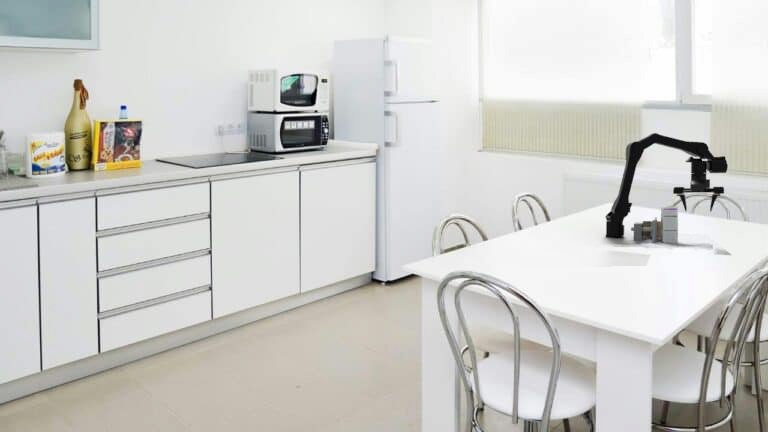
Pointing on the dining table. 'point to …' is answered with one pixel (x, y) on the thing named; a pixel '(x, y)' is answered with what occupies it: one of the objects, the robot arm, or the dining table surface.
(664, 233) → the syrup box
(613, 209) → the robot arm
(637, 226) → the gauge housing
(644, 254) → the dining table surface
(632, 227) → the gauge plunger
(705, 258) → the dining table surface
